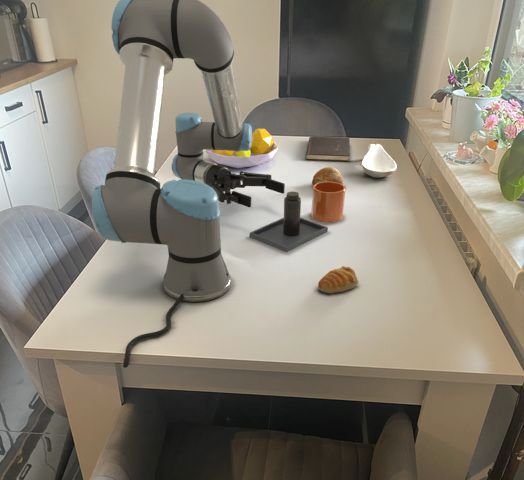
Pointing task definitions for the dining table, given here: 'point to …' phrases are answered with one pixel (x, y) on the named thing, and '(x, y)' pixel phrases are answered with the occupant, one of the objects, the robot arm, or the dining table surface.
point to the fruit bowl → (248, 152)
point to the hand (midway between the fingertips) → (267, 195)
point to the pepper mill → (292, 214)
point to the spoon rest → (378, 162)
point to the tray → (277, 239)
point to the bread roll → (327, 176)
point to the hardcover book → (328, 149)
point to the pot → (328, 201)
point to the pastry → (338, 280)
